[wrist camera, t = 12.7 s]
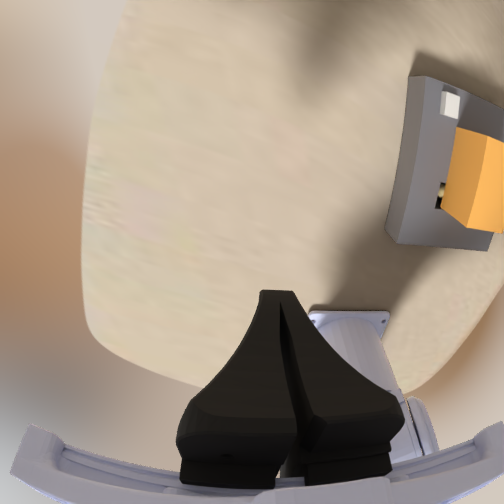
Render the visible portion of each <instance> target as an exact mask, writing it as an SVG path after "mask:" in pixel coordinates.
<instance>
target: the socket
mask: <svg viewBox="0 0 504 504" xmlns="http://www.w3.org/2000/svg"><path fill="white" fill-rule="evenodd" d="M456 127H459V128H463V129H466V130H470V131H473V132H477V133H480V134H483V135H487V136H489V137H492V138H494V139H496V140H498V141H501V142H503V143H504V109H502V108H500V107H498V106H496V105H494V104H492V103H490V102H488V101H486V100H484V99H482V98H480V97H478V96H476V95H473V94H471V93H469V92H467V91H464V90H462V89H460V88H457V87H455V86H452V85H450V84H447V83H445V82H442V81H439V80H437V79H434V78H431V77H428V76H411V77H408V90H407V101H406V110H405V119H404V127H403V135H402V142H401V148H400V155H399V161H398V166H397V172H396V177H395V183H394V188H393V193H392V198H391V202H390V207H389V212H388V216H387V220H386V225H385V230H386V231H387V233H388V234H389V235H390V236H391V237H392V239H393V240H394V241H395V242H396V244H407V245H420V246H432V247H443V248H455V249H466V250H477V251H488V248H489V245H490V242H491V239H492V236H493V233H494V232H490V231H484V230H478V229H472V228H466V227H465V226H464V225H463V224H461V223H460V222H459V221H458V220H456V219H455V218H454V217H452V216H451V215H450V214H449V213H447V212H446V211H445V210H443V209H442V208H441V207H440V206H441V202H442V198H440V197H439V199H438V200H437V197H438V193H439V188H440V184H441V182H442V184H444V185H446V181H447V177H448V172H449V167H450V162H451V157H452V151H453V146H454V139H455V133H456Z"/></svg>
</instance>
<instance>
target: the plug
mask: <svg viewBox="0 0 504 504" xmlns="http://www.w3.org/2000/svg"><path fill="white" fill-rule="evenodd" d="M438 196H439V197H440V198H442V202H441V206H440V207H441V208H442V209H443V210H445V211H446V212H447V213H449V214H450V215H451V216H452V217H454V218H455V219H456V220H458V221H459V222H460V223H461V224H463V225H464V226H465V227H466V228H472V229H478V230H484V231H490V232H496V233H503V230H504V143H503V142H501V141H498V140H496V139H494V138H492V137H489V136H487V135H483V134H480V133H477V132H473V131H470V130H466V129H463V128H459V127H456V133H455V139H454V146H453V151H452V157H451V162H450V167H449V172H448V177H447V181H446V185H444V184H442V183H441V184H440V188H439V193H438Z"/></svg>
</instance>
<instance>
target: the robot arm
mask: <svg viewBox="0 0 504 504" xmlns="http://www.w3.org/2000/svg"><path fill="white" fill-rule="evenodd" d="M389 318H390V314H389V312H388V311H311V312H310V313H309V314H308V315H307V314H306V312H305V311H304V309H303V307H302V306H301V304H300V302H299V301H298V299H297V297H296V295H295V293H294V292H293V291H284V290H262V291H260V295H259V303H258V306H257V309H256V312H255V315H254V317H253V320H252V322H251V324H250V326H249V328H248V330H247V332H246V334H245V336H244V338H243V340H242V341H241V343H240V345H239V346H238V348H237V349H236V351H235V352H234V354H233V355H232V357H231V358H230V359H229V361H228V362H227V363H226V365H225V366H224V367H223V368H222V370H221V371H220V372H219V373H218V374H217V375H216V376H215V377H214V378H213V379H212V381H211V382H210V383H209V384H208V385H207V386H206V387H205V388H203V389H202V390H201V391H200V392H199V393H198V394H197V395H196V396H195V397H193V399H191V401H190V402H189V404H188V406H187V408H186V409H185V412H184V414H183V416H182V418H181V420H180V423H179V426H178V431H177V437H176V446H177V448H178V450H179V453H180V455H181V457H182V463H181V469H180V472H174V471H168V470H162V469H157V468H151V467H146V466H142V465H137V464H133V463H128V462H124V461H120V460H116V459H112V458H109V457H105V456H102V455H98V454H94V453H92V452H88V451H85V450H82V449H79V448H76V447H73V446H70V445H68V444H65V443H64V442H63V440H62V439H61V438H60V437H59V436H57V435H56V434H54V433H53V432H51V431H48V430H46V429H43V428H41V427H39V426H36V425H34V424H32V423H29V424H28V427H27V429H26V431H25V434H24V436H23V439H22V441H21V444H20V446H19V449H18V451H17V454H16V457H15V459H14V462H13V465H12V467H11V470H10V474H11V475H12V476H14V477H15V478H17V479H18V480H20V481H22V482H23V483H25V484H26V485H28V486H29V487H31V488H33V489H34V490H36V491H38V492H39V493H41V494H43V495H45V496H47V497H49V498H51V499H53V500H55V501H57V502H60V503H62V504H450V503H452V502H454V501H457V500H459V499H461V498H463V497H465V496H467V495H469V494H471V493H473V492H475V491H477V490H479V489H481V488H482V487H484V486H486V485H488V484H489V483H491V482H492V481H494V480H495V479H497V478H498V477H500V476H501V475H503V474H504V424H503V422H502V421H500V422H498V423H495V424H493V425H491V426H488V427H486V428H485V429H483V430H482V431H480V432H479V433H478V434H477V435H476V436H475V437H474V438H473V439H471V440H468V441H466V442H463V443H460V444H458V445H455V446H452V447H449V448H447V449H444V450H441V451H439V447H438V444H437V439H436V436H435V433H434V429H433V426H432V423H431V421H430V418H429V415H428V412H427V410H426V408H425V405H424V403H423V401H422V400H421V399H418V398H415V397H414V396H410V397H408V398H407V402H408V406H409V409H410V410H409V411H410V414H411V417H410V414H409V411H408V408H407V406H406V403H405V400H404V397H403V394H402V391H401V389H400V388H399V387H398V384H397V381H396V379H395V376H394V373H393V371H392V368H391V365H390V363H389V360H388V358H387V355H386V353H385V350H384V347H383V345H382V343H381V340H380V339H381V337H382V335H383V332H384V330H385V328H386V325H387V323H388V321H389ZM384 319H385V320H384ZM311 320H314V321H311ZM382 320H383V321H382ZM411 418H412V420H411ZM412 421H413V423H412ZM421 450H422V452H421ZM279 470H280V478H276V476H277V474H278V472H279Z"/></svg>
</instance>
